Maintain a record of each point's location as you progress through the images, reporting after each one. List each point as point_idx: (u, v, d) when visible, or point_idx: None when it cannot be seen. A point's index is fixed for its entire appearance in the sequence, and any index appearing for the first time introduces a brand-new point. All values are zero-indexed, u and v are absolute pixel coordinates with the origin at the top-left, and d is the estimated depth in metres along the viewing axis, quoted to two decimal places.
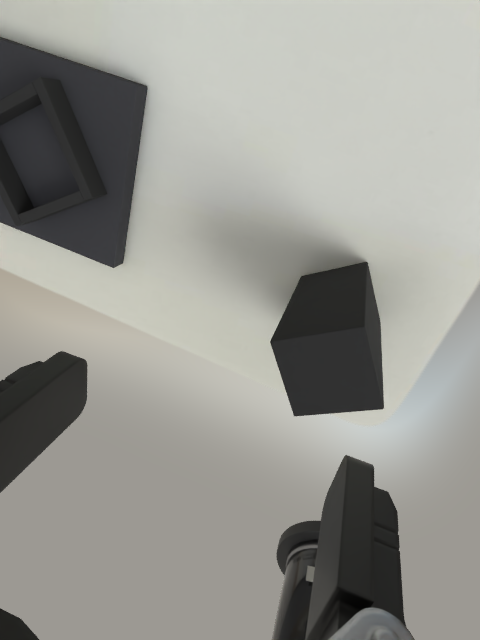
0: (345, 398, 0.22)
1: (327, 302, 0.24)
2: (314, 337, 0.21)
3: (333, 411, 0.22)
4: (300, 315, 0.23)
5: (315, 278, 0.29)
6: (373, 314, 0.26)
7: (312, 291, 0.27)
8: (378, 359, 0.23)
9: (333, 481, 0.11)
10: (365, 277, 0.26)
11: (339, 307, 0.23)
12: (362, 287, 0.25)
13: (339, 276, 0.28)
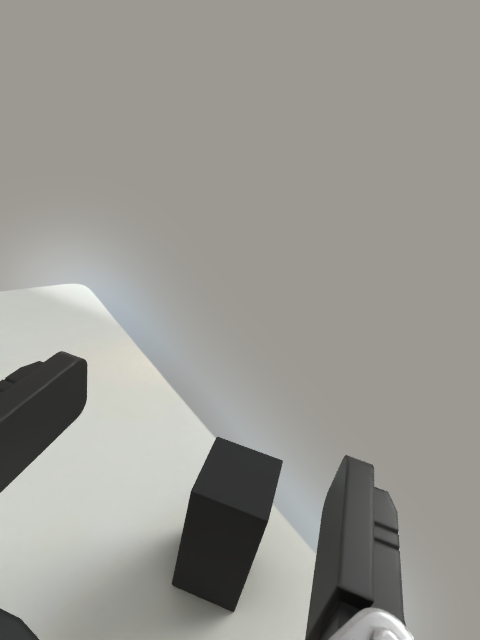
0: (265, 475, 0.27)
1: None
2: (206, 463, 0.27)
3: (273, 489, 0.26)
4: None
5: None
6: None
7: None
8: None
9: (333, 481, 0.11)
10: None
11: None
12: None
13: None
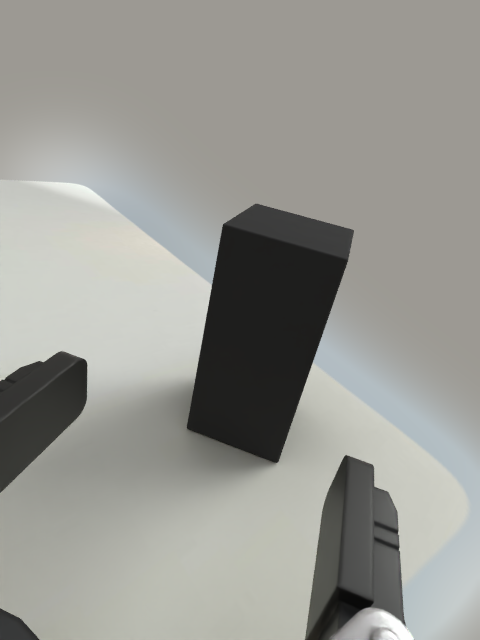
0: (331, 233, 0.18)
1: None
2: (243, 213, 0.18)
3: (348, 242, 0.17)
4: None
5: None
6: None
7: None
8: None
9: (333, 481, 0.11)
10: None
11: None
12: None
13: None
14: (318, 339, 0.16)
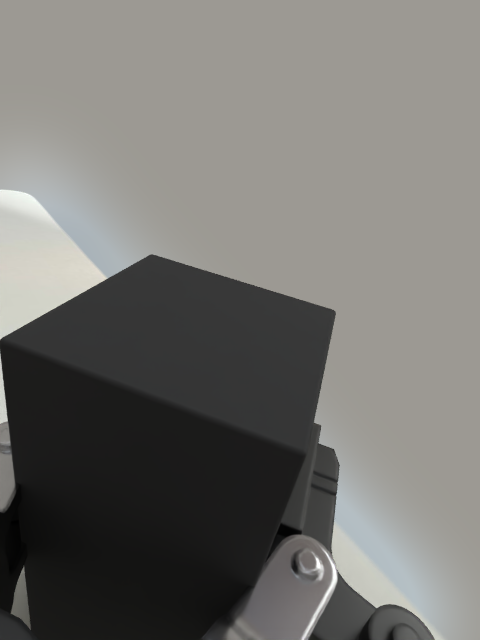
0: (286, 330, 0.08)
1: None
2: (97, 288, 0.08)
3: (318, 363, 0.07)
4: None
5: None
6: None
7: None
8: None
9: None
10: None
11: None
12: None
13: None
14: None
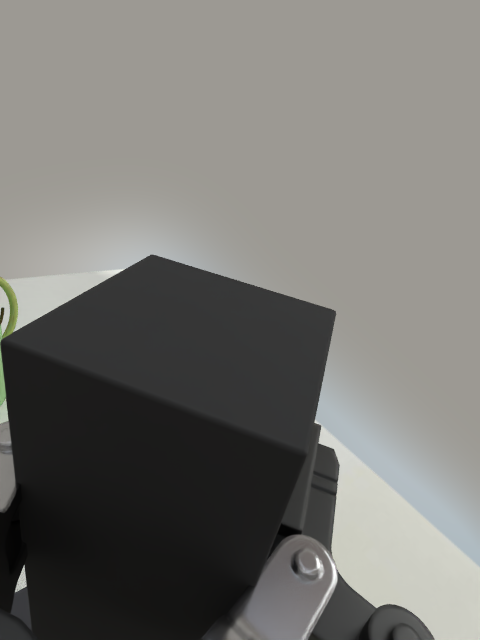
0: (286, 331, 0.08)
1: None
2: (98, 288, 0.08)
3: (318, 363, 0.07)
4: None
5: None
6: None
7: None
8: None
9: None
10: None
11: None
12: None
13: None
14: None
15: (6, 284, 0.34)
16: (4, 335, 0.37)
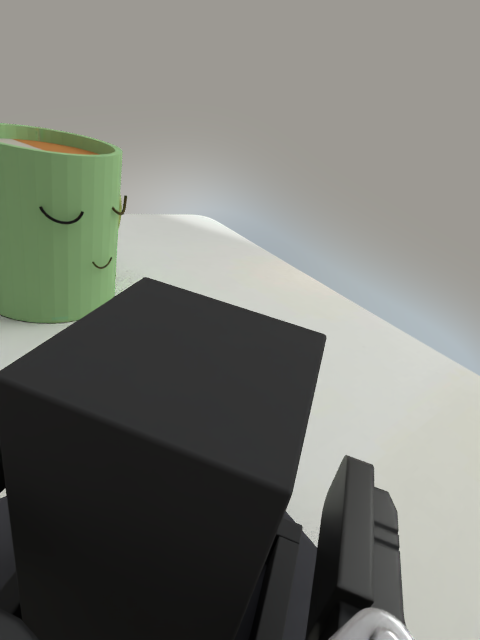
0: (276, 358, 0.08)
1: None
2: (90, 316, 0.08)
3: (306, 394, 0.08)
4: None
5: None
6: None
7: None
8: None
9: (333, 481, 0.11)
10: None
11: None
12: None
13: None
14: (236, 621, 0.07)
15: None
16: None
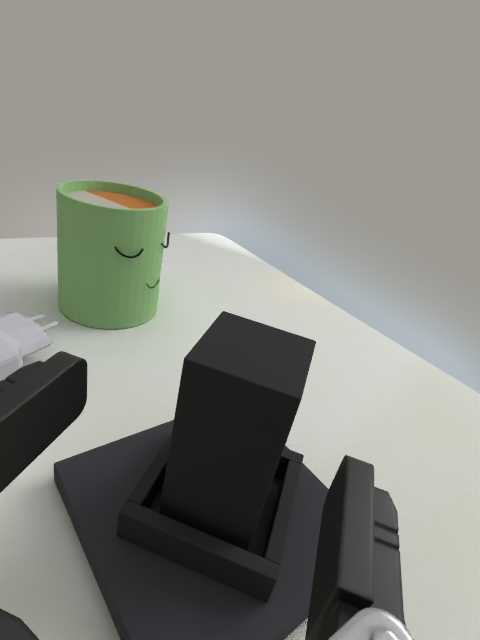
0: (292, 352, 0.18)
1: None
2: (207, 333, 0.18)
3: (306, 367, 0.18)
4: None
5: None
6: None
7: None
8: None
9: (333, 481, 0.11)
10: None
11: None
12: None
13: None
14: (276, 461, 0.17)
15: None
16: None
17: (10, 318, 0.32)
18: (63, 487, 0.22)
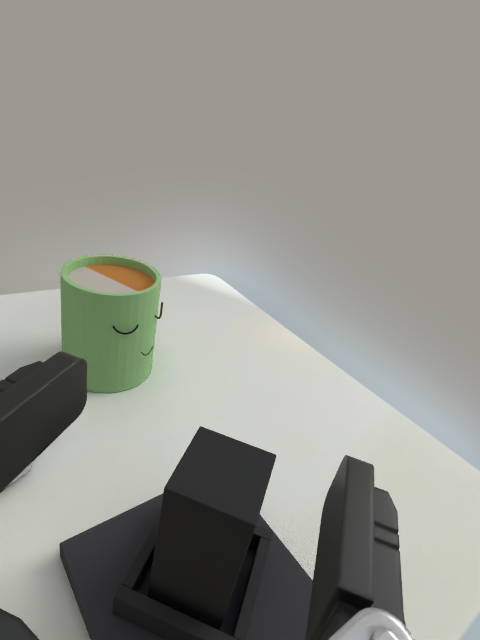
0: (254, 471, 0.23)
1: None
2: (185, 455, 0.23)
3: (264, 488, 0.22)
4: None
5: None
6: None
7: None
8: None
9: (333, 481, 0.11)
10: None
11: None
12: None
13: None
14: (240, 566, 0.21)
15: None
16: None
17: None
18: (68, 566, 0.27)
